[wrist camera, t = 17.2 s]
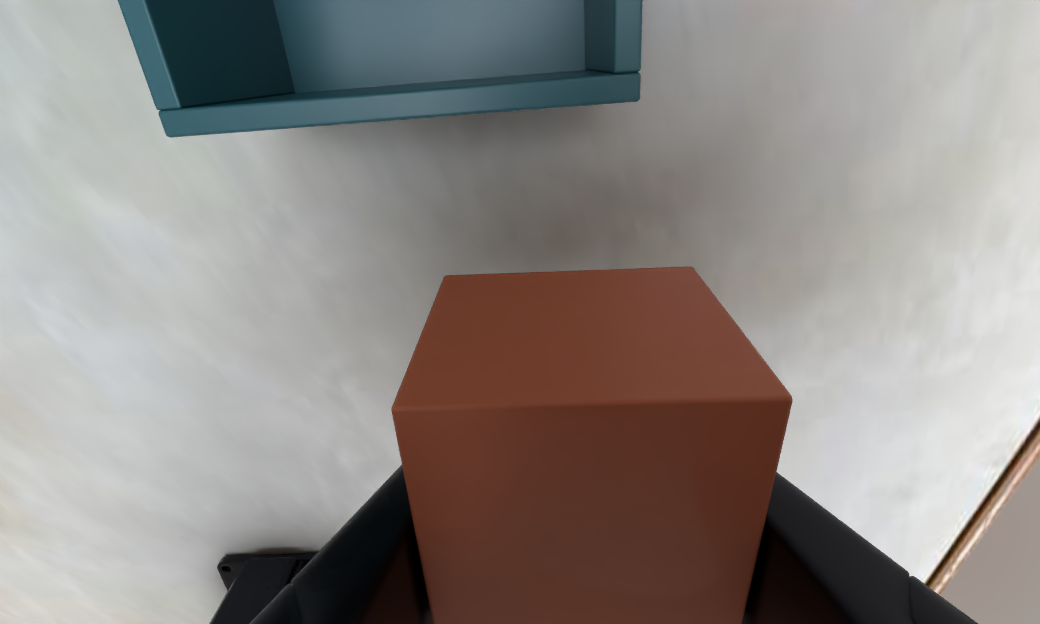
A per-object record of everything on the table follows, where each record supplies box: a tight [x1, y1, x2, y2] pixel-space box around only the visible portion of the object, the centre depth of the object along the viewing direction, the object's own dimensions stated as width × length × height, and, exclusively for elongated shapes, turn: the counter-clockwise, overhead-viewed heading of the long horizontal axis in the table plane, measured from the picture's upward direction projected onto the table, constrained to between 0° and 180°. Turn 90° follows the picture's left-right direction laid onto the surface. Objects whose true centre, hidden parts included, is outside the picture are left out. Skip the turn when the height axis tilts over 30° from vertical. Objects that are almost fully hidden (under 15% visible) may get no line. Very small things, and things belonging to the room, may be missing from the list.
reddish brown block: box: [391, 267, 792, 624], centre depth 9 cm, size 6×4×4 cm
